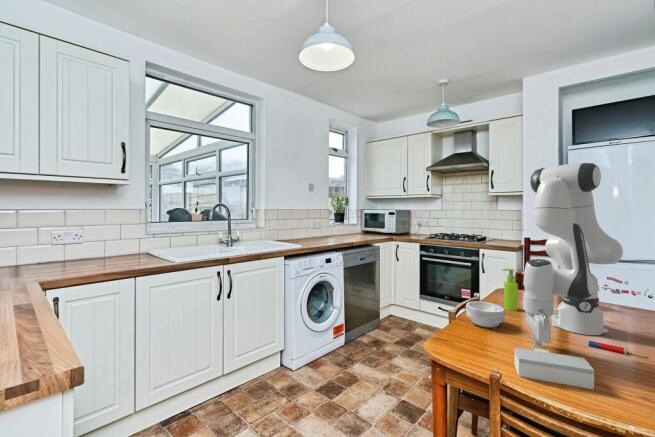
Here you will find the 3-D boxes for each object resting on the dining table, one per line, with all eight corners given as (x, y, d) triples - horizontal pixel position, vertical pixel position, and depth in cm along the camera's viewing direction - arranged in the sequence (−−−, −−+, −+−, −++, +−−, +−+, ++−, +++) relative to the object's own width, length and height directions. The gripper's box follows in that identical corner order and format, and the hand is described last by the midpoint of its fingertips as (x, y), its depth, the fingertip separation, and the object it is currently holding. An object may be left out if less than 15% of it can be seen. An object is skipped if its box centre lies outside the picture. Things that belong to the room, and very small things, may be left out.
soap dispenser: (502, 306, 164) (502, 267, 163) (517, 308, 159) (518, 269, 159) (500, 308, 159) (501, 269, 158) (516, 311, 155) (517, 270, 154)
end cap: (514, 364, 102) (514, 347, 102) (583, 375, 95) (583, 357, 95) (518, 376, 94) (519, 358, 94) (593, 389, 87) (594, 370, 87)
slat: (532, 353, 110) (532, 344, 110) (545, 355, 109) (546, 346, 108) (543, 375, 95) (543, 365, 95) (559, 378, 94) (559, 368, 94)
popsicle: (646, 356, 105) (588, 343, 115) (646, 361, 105) (588, 347, 115) (646, 352, 108) (589, 340, 118) (645, 356, 108) (589, 344, 118)
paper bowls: (513, 327, 133) (513, 309, 133) (484, 332, 129) (484, 312, 128) (485, 316, 148) (485, 299, 148) (458, 319, 143) (458, 302, 143)
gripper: (557, 316, 100) (556, 360, 100) (541, 299, 118) (541, 336, 119) (533, 314, 102) (533, 356, 102) (522, 298, 121) (521, 333, 121)
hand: (537, 345), depth 111 cm, fingers closed
